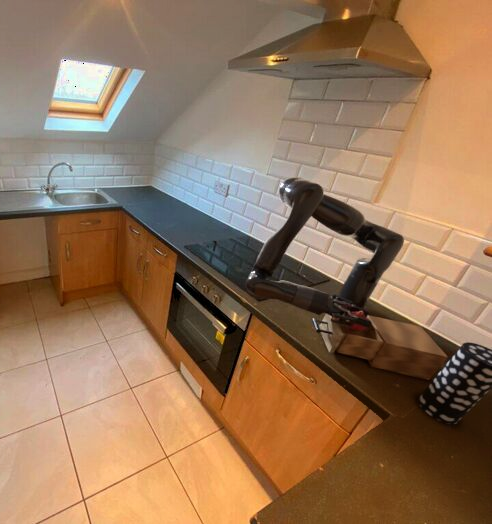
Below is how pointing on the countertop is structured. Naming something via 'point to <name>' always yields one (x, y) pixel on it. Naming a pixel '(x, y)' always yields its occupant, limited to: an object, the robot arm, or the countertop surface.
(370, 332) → the drawer
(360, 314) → the onion
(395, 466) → the countertop surface
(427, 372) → the cabinet
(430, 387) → the white-spotted black cylinder
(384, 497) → the countertop surface
